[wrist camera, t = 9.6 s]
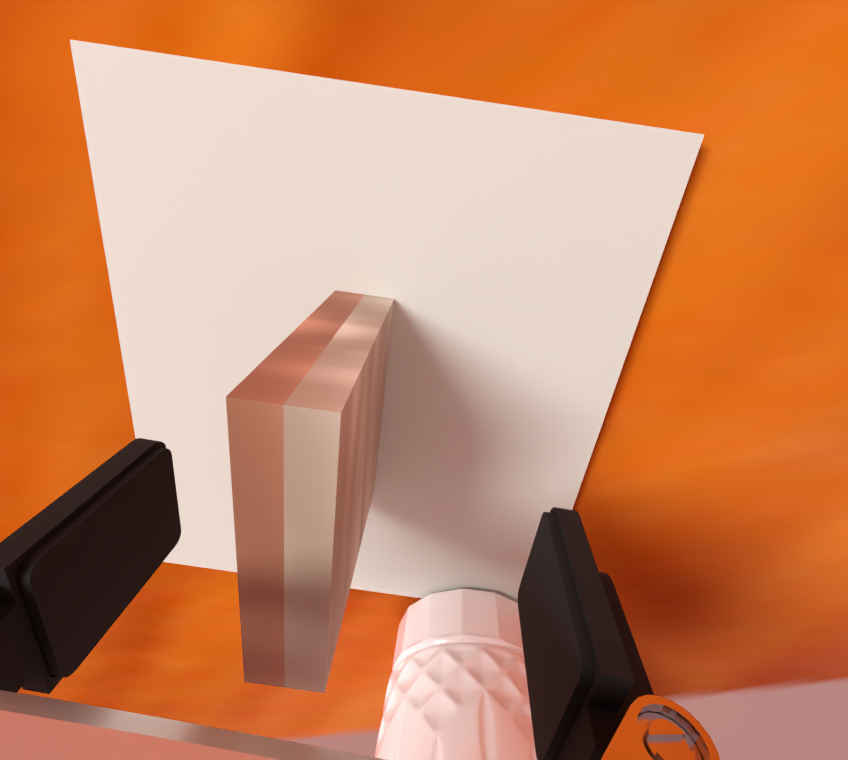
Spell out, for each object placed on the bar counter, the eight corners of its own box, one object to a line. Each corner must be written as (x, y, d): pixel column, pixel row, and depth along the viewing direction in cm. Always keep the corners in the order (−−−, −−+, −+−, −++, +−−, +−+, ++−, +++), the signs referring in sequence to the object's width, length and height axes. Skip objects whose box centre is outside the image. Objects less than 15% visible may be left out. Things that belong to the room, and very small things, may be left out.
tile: (394, 298, 15) (341, 412, 8) (374, 487, 18) (324, 692, 11) (335, 290, 15) (225, 396, 8) (326, 481, 18) (244, 682, 11)
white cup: (527, 565, 19) (583, 933, 10) (564, 660, 23) (628, 991, 14) (363, 593, 21) (296, 925, 12) (421, 677, 24) (401, 978, 16)
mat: (693, 136, 13) (704, 134, 12) (533, 603, 21) (535, 614, 21) (85, 45, 13) (69, 39, 12) (163, 550, 21) (155, 560, 21)
